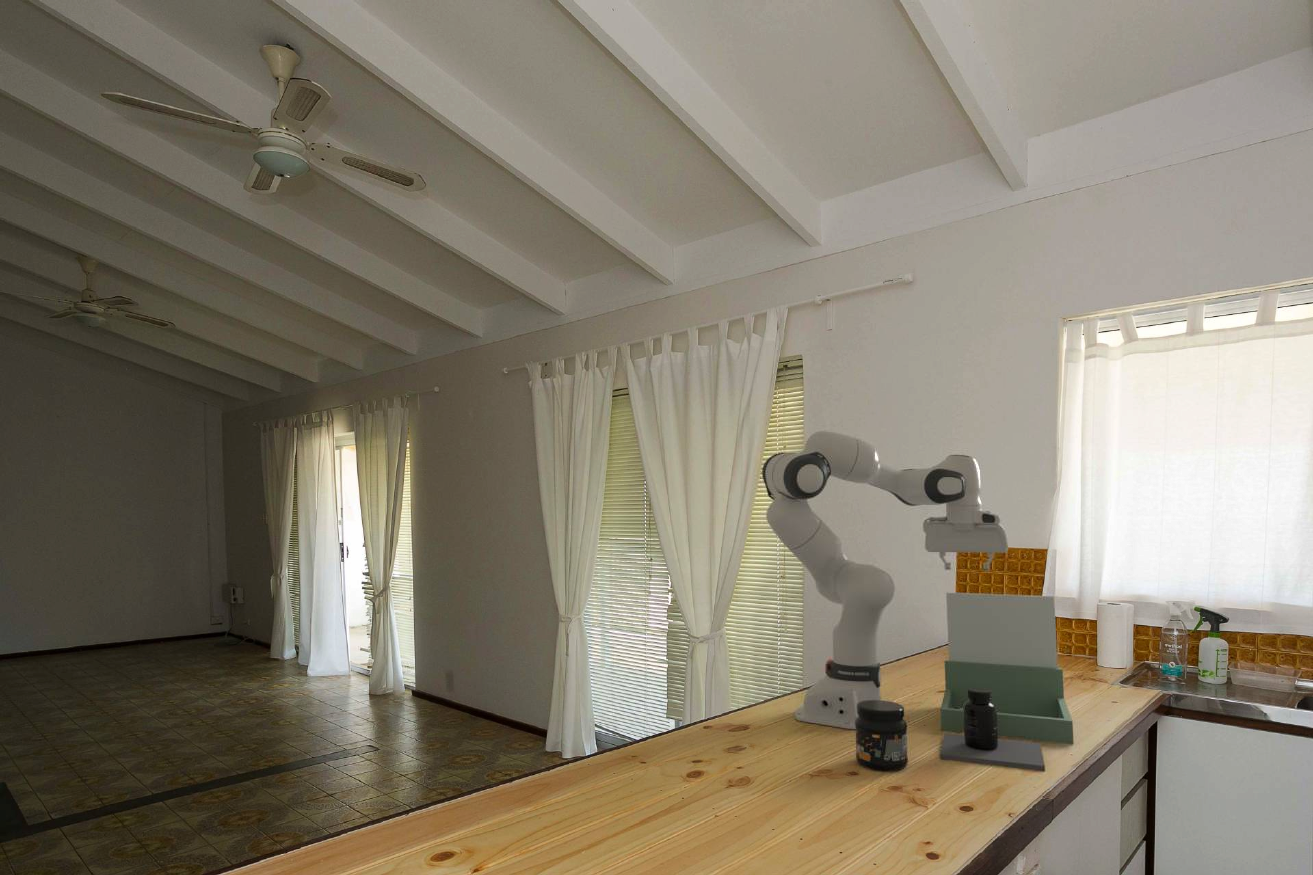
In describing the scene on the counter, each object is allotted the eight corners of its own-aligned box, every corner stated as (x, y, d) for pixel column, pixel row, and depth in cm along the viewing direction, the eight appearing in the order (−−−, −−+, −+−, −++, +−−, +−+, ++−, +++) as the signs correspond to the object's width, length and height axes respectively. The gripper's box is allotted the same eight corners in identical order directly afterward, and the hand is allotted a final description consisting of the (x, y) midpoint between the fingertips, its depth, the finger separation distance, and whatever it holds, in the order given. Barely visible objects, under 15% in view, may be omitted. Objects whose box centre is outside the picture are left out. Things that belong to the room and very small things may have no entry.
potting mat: (940, 758, 165) (940, 753, 166) (944, 737, 180) (944, 733, 180) (1045, 770, 158) (1044, 765, 158) (1040, 748, 172) (1040, 743, 172)
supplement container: (849, 756, 167) (847, 699, 168) (897, 755, 168) (895, 698, 169) (865, 773, 157) (863, 712, 158) (916, 772, 158) (914, 711, 159)
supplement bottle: (1003, 750, 167) (1001, 693, 168) (972, 751, 167) (970, 693, 168) (990, 741, 174) (987, 686, 175) (959, 741, 174) (957, 686, 175)
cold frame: (941, 730, 186) (936, 603, 189) (946, 705, 209) (942, 592, 211) (1073, 743, 175) (1066, 608, 178) (1064, 716, 198) (1058, 596, 200)
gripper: (921, 517, 206) (924, 570, 205) (1006, 516, 198) (1009, 571, 197) (923, 516, 212) (926, 568, 211) (1006, 516, 203) (1009, 569, 202)
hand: (967, 569), depth 204 cm, fingers open, 8 cm apart
